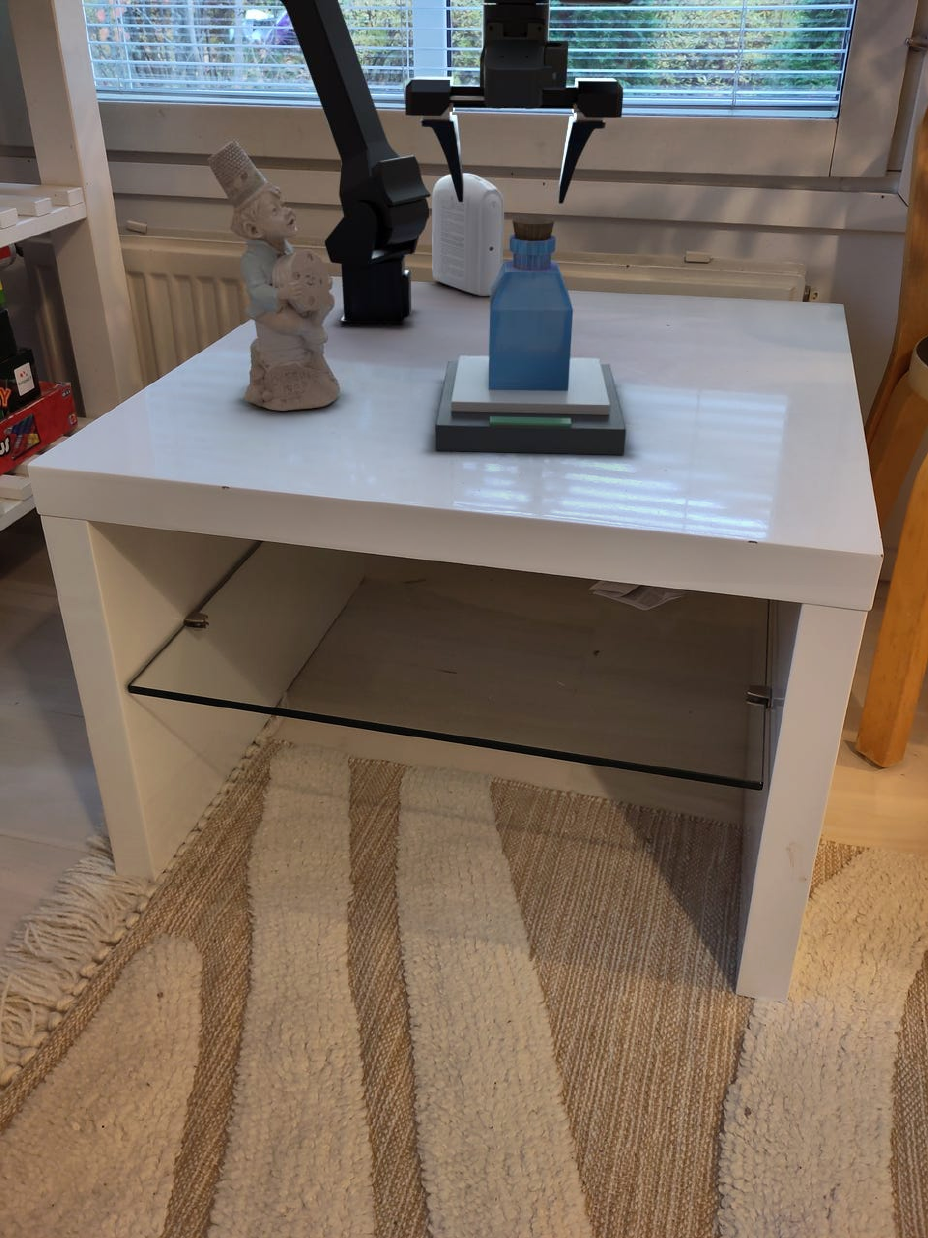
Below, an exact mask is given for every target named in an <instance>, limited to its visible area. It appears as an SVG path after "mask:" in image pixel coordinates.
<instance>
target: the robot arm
mask: <svg viewBox="0 0 928 1238" xmlns="http://www.w3.org/2000/svg"><path fill="white" fill-rule="evenodd" d="M633 1H634V0H558V2H559V3H560V4H562V5H626V6H627V5H629V4H631V3H632V2H633ZM279 2H280V3H281V4H282V6H283V7H284V9H285V11H286V13H287V16H288V19H289V21H290V24H291V26H292V29H293V32H294V35H295V37H296V40H297V43H298V45H299V48H300V51H301V54H302V57H303V59H304V61H305V65H306V67H307V71H308V74H309V75H310V78H311V81H312V84H313V87H314V89H315V92H316V95H317V98H318V100H319V104H320V106H321V108H322V111H323V115H324V116H325V117H324V118H325V119H326V122H327V125H328V128H329V130H330V133H331V136H332V138H333V141H334V144H335V147H336V149H337V152H338V155H339V158H340V161H341V162H340V163H341V168H340V177H339V187H338V189H339V190H338V197H339V201H340V204H341V210H342V215H343V217H342V218H341V219H340V221H339V222H338V223H337V225H336V226H335V227H334V228H333V230H331V232H330V234H329V235H328V236H327V237H326V238H325V240H324V246H325V249H326V252H327V256H328V259H329V261H330V263H332V264H337V265H341V266H340V267H341V285H342V299H343V300H342V301H343V302H342V304H343V315H342V317H341V319H340V322H341V323H340V325H343V326H382V327H383V326H386V327H391V326H392V327H400V326H404V324H405V322H406V319H407V317H409V316H410V315H411V312H412V274H411V271H410V270H407V269H406V256H407V255H413V254H415V253H416V249H417V246H418V242H419V239H420V236H421V235H422V234H423V232H424V230H425V229H426V226H427V222H428V220H429V218H430V207H429V202H428V200H427V198H430V197H432V195H431V192H430V191H429V190H428V188H427V187H426V185H425V183H424V181H423V178H422V174H421V168H420V164H419V162H418V159H417V158H416V156H415V155H407V156H402V157H401V156H400V155H399V154H398V152H396V151H395V149H393V147H392V146H391V145H390V143H389V141H388V138H387V136H386V133H385V130H384V127H383V124H382V122H381V119H380V115H379V113H378V110H377V107H376V104H375V102H374V99H373V95H372V93H371V91H370V88H369V85H368V82H367V78H366V76H365V73H364V70H363V67H362V65H361V64H362V63H361V62H360V59H359V56H358V53H357V50H356V48H355V44H354V41H353V40H352V39H353V38H352V37H351V33H350V31H349V28H348V25H347V21H346V19H345V16H344V13H343V11H342V7H341V4H340V2H339V0H279ZM481 6H482V7H481V8H482V9H481V15H482V16H481V17H482V18H481V53H480V55H479V85H461V84H459V85H458V84H457V85H455V84H454V76H414V77H413V78H411V79H410V81H408V83H407V84H406V85H405V87H404V108H405V109H404V112H405V113H404V114H405V116H408V117H409V116H410V117H422V118H421V119H420V126H421V127H422V128H431V129H432V130H433V131H432V132H433V133H434V135H435V136H436V138H437V140H438V143H439V146H440V147H441V150H442V152H443V155H444V157H445V161H446V163H447V166H448V170H449V173H450V174H449V175H451V177H452V181H453V184H454V188H455V191H456V195H457V198H458V201H459V202H463V194H464V181H463V172H464V171H463V162H462V153H461V152H462V151H461V142H460V131H459V122H458V115H457V114H453V113H454V112H455V110H456V109H495V110H500V109H521V110H523V109H524V110H534V109H535V110H572V111H571V112H572V114H573V116H572V115H571V116H569V119H568V125H567V130H566V137H565V143H564V150H563V156H562V157H563V158H562V164H561V170H560V176H559V183H558V204H559V205H560V204H561V205H563V204H564V202H565V199H566V196H567V193H568V190H569V188H570V186H571V185H570V184H571V182H572V179H573V176H574V173H575V170H576V167H577V165H578V162H579V160H580V157H581V155H582V152H583V150H584V149H585V146H586V144H587V143H588V142H589V139H590V137H591V136H592V134H593V132H594V130H602V129H603V130H604V129H606V124H607V121H606V120H605V119H617V118H618V119H619V118H622V117H623V116H622V115H623V103H624V88H623V86H622V85H621V84H620V83H619V81H617V80H616V79H615V78H612V77H575V81H574V86H570V85H569V86H567V79H568V64H569V63H568V62H569V61H568V60H569V41H568V40H549V39H550V17H551V13H550V12H551V0H482V5H481Z"/></svg>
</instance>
